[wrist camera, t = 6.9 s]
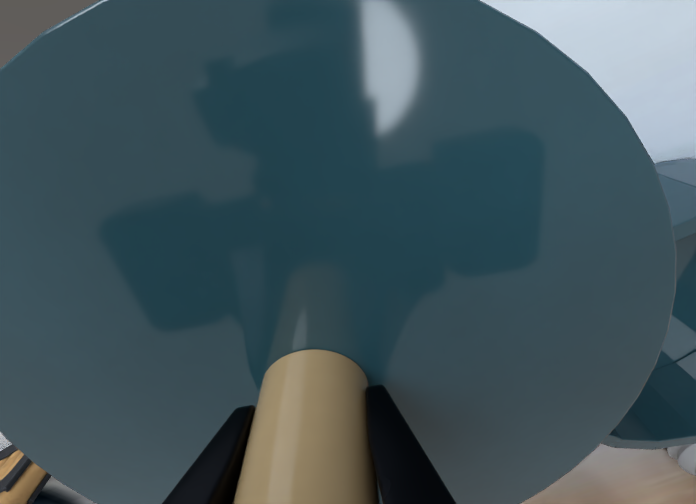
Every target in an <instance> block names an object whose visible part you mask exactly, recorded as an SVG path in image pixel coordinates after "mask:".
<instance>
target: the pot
mask: <svg viewBox="0 0 696 504" xmlns="http://www.w3.org/2000/svg"><path fill="white" fill-rule="evenodd" d="M654 166H655V169H656V171H657V174H658V177H659V180H660V182H661V185H662V188H663V191H664V194H665V196H666V199H667V202H668V205H669V208H670V213H671V220H672V226H673V232H674V239H675V245H676V251H677V253H676V293H675V298H674V303H673V308H672V313H671V318H670V324H669V329H668V332H667V335H666V338H665V340H664V343H663V346H662V349H661V351H660V354H659V357H658V359H657V362H656V365H655V367H654V369H653V370H652V372H651V374H650V376H649V378H648V380H647V382H646V383H645V385H644V387H643V389H642V391H641V393H640V395H639V396H638V398H637V399H636V400H635V402H634V403H633V405H632V406H631V407H630V409H629V410H628V412H627V413H626V414H625V416H624V417H623V418H622V420H621V421H620V423H619V424H618V425H617V426H616V427H615V428H614V429H613V430H612V432H611V433H610V434H609V435H608V436H607V437H606V438H605V439H604V440H603V441H602V442H601V444H604V445H607V446H611V447H615V448H632V449H652V450H653V449H661V448H668V447H675V446H682V445H689V444H696V159H680V160H672V161H665V162H660V163H656V164H654Z"/></svg>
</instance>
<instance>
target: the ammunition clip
mask: <svg viewBox="0 0 696 504" xmlns="http://www.w3.org/2000/svg"><path fill="white" fill-rule="evenodd" d="M50 477H51V475H50V474H48V473H47V472H46V471H44V470H43V469H42V468H40V467H39V466H37V465H36V464H35V463H33V462H32V461H31V460H30V459H29V458H28V457H27V456H25V455H24V454H23V453H22V452H21V451H20V450H19V449H17V448H16V447H15V446H14V445H13V444H12V445H10V446H9V447H7V448H5V449H4V450H2V451H0V504H31V503H33V501H34V500H35V499H36V497H37V496H38V494H39V493H40V492H41V490H42V489H43V487H44V486H45V484H46V483H47V482H48V480H49V479H50Z"/></svg>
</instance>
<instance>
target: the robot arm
mask: <svg viewBox="0 0 696 504" xmlns="http://www.w3.org/2000/svg"><path fill="white" fill-rule="evenodd" d="M366 407H367V425H368V438H369V444H370V449H371V453H372V458H373V462H374V467H375V471H376V475H377V480H378V484H379V489H380V493H381V498H382V502H383V504H456V502H455V500H454V499H453V497H452V496H451V494H450V492H449V491H448V489H447V487H446V486H445V484H444V482H443V481H442V479H441V478H440V476H439V474H438V473H437V471H436V469H435V468H434V466H433V465H432V463H431V461H430V460H429V458H428V456H427V455H426V453H425V451H424V450H423V448H422V447H421V445H420V443H419V442H418V440H417V438H416V437H415V435H414V434H413V432H412V430H411V429H410V427H409V425H408V424H407V422H406V420H405V419H404V417H403V416H402V414H401V412H400V411H399V409H398V407H397V406H396V404H395V403H394V401H393V399H392V398H391V396H390V394H389V393H388V391H387V389H386V388H385V386H384V385H382V384H379V385H373V386H368V387H367V388H366ZM255 409H256V407H255V406H253V405H249V406H243V407H238V408H236V409H235V410H234V411H233V413H232V414H231V415H230V416H229V418H228V419H227V420H226V422H225V423H224V424H223V425H222V427H221V428H220V429H219V431H218V432H217V433H216V434H215V436H214V437H213V438H212V440H211V441H210V442H209V444H208V445H207V446H206V447H205V449H204V450H203V451H202V453H201V454H200V455H199V456H198V458H197V459H196V460H195V462H194V463H193V464H192V466H191V467H190V468H189V469H188V471H187V472H186V473H185V475H184V476H183V477H182V478H181V480H180V481H179V482H178V484H177V485H176V486H175V487H174V489H173V490H172V491H171V493H170V494H169V495H168V497H167V498H166V499H165V500H164V502H163V503H162V504H233V501H234V497H235V493H236V489H237V484H238V480H239V476H240V472H241V468H242V463H243V459H244V455H245V451H246V447H247V442H248V438H249V434H250V430H251V426H252V421H253V417H254V413H255Z"/></svg>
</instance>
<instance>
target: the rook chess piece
mask: <svg viewBox="0 0 696 504" xmlns="http://www.w3.org/2000/svg"><path fill="white" fill-rule="evenodd" d="M667 451H668V453H669V456H670V457H672V458H674V459H676V460H678V464H679V466H680V467H681V468H682V469H683V470H685V471H686V472H688V473H690V474H692V475H695V476H696V444H689V445H682V446H675V447H668V448H667Z"/></svg>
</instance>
